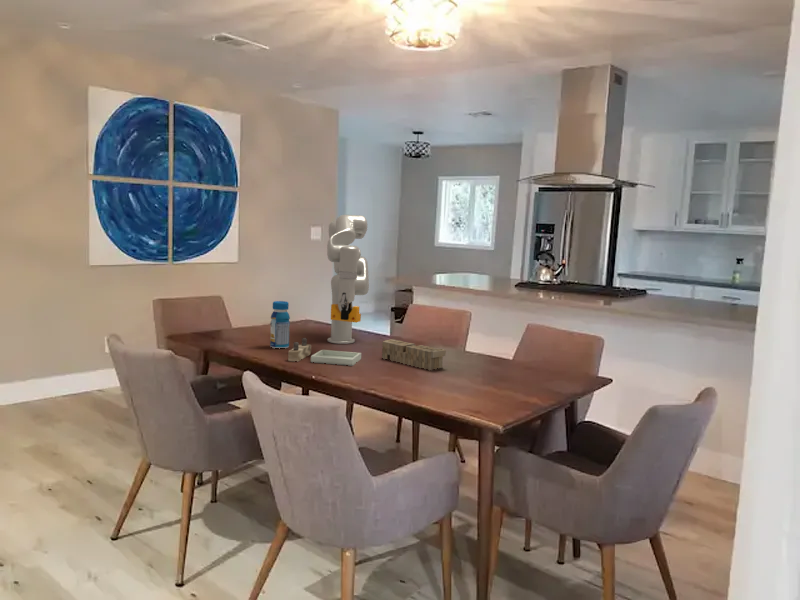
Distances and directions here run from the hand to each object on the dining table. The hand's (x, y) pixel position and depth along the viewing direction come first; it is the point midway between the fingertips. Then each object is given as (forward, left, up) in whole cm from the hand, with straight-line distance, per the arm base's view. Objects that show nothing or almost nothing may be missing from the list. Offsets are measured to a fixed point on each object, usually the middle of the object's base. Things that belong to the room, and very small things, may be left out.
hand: (346, 318), depth 270 cm
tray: (+15, +1, -15) cm, 21 cm away
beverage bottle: (-1, -30, -15) cm, 34 cm away
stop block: (+15, -15, -15) cm, 26 cm away
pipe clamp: (0, 0, -1) cm, 1 cm away
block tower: (+7, +30, -16) cm, 35 cm away
